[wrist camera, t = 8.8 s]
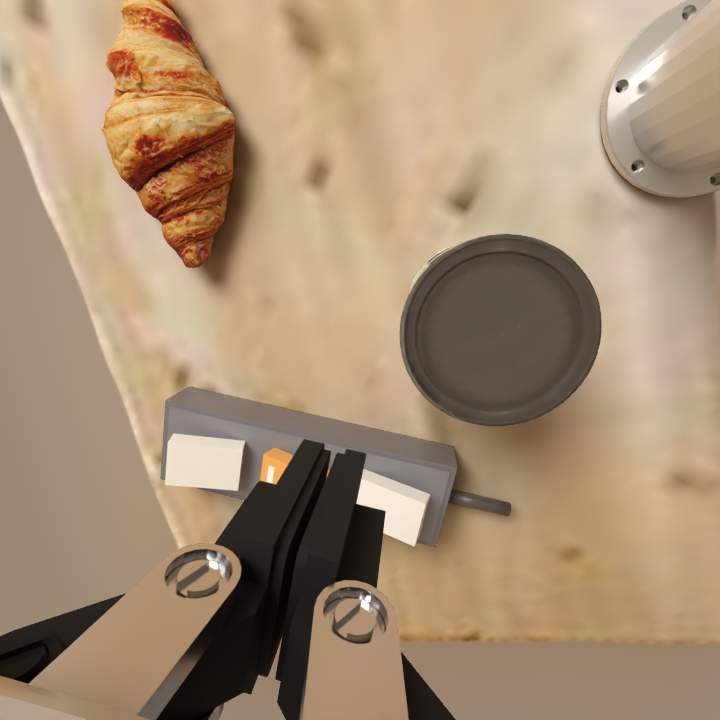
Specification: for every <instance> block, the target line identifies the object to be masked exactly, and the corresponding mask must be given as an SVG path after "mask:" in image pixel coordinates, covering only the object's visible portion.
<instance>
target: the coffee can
mask: <svg viewBox="0 0 720 720" xmlns="http://www.w3.org/2000/svg"><path fill="white" fill-rule="evenodd" d="M600 338H601V312H600V306H599V301H598V298H597V295H596V293H595V290H594V288H593V286H592V284H591V282H590V280H589V279H588V278H587V276H586V274H585V273H584V272H583V270H582V269H581V268H580V267H579V266H578V265H577V264H576V262H575V261H574V260H573V259H571V258H570V257H569V256H568V255H567V254H565V253H564V252H563V251H561V250H560V249H558V248H556V247H555V246H552V245H550V244H548V243H546V242H544V241H542V240H539V239H535V238H531V237H527V236H521V235H512V234H500V235H489V236H484V237H479V238H476V239H473V240H469V241H467V242H464V243H460V244H455V245H452V246H450V247H447V248H445V249H443V250H441V251H439V252H438V253H436V254H435V255H433V256H432V257H431V258H430V259H428V260H427V261H426V262H425V263H424V264H423V265H422V267H421V268H420V269H419V271H418V273H417V274H416V276H415V278H414V280H413V282H412V285H411V288H410V291H409V295H408V298H407V300H406V303H405V306H404V309H403V312H402V317H401V323H400V347H401V352H402V357H403V361H404V364H405V367H406V369H407V372H408V374H409V376H410V378H411V379H412V381H413V383H414V384H415V386H416V387H417V388H418V390H419V391H420V392H421V394H422V395H423V396H424V397H425V398H426V399H427V400H428V401H429V402H430V403H431V404H433V405H434V406H435V407H436V408H438V409H439V410H441V411H443V412H444V413H446V414H448V415H450V416H452V417H454V418H456V419H459V420H462V421H465V422H468V423H472V424H478V425H485V426H505V425H513V424H518V423H523V422H527V421H529V420H532V419H536V418H538V417H540V416H542V415H544V414H546V413H548V412H550V411H552V410H553V409H555V408H556V407H558V406H559V405H560V404H561V403H563V402H564V401H565V400H566V399H567V398H569V397H570V396H571V395H572V394H573V393H574V392H575V391H576V390H577V388H578V387H579V386H580V385H581V384H582V382H583V381H584V379H585V378H586V376H587V375H588V373H589V372H590V370H591V368H592V366H593V364H594V361H595V359H596V356H597V353H598V348H599V345H600Z"/></svg>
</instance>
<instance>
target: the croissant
mask: <svg viewBox="0 0 720 720" xmlns="http://www.w3.org/2000/svg"><path fill="white" fill-rule="evenodd" d="M121 12H122V15H123V19H124V28H123V30H122V31H121V32H120V33H119V35H118V38H117V40H116V43H115V44H114V46H113V47H112V48H111V51H110V53H108V54H107V59H108V62H106V65H107V67H108V69H109V70H110V71H111V72H112V73H113V75H114V77H115V79H116V82H117V84H116V85H115V87H114V92H115V95H114V99H113V101H112V103H111V105H110V107H109V109H108V110H107V112H106V115H105V123H104V127H103V128H102V129H101V130H102V131H103V133H104V135H105V137H106V142H107V146H108V149H109V152H110V154H111V157H112V160H113V164H114V165H115V167H116V169H117V171H118V173H119V175H120V176H121V178H122V179H123V180H124V181H125V182H126V183H127V184H129V186H130V187H131V188H132V189H134V190H135V191H136V193H137V195H138V197H139V198H140V200H141V203H142V205H143V207H144V209H145V211H146V212H148V213H149V214H150V215H152V216H153V217H154V218H156V219H158V220H159V221H160V222H161V224H162V225H163V226H162V232H163V235H164V238H165V240H166V241H167V243H168V244H169V245H170V246H171V247H172V248H173V249H174V250H175V251H176V252H177V254H178V255H179V257H180V258H182V260H183V262H184V264H185V265H186V267H189V268H191V267H192V268H194V267H199V266H201V264H204V263H205V262H206V261H207V260H208V257H209V256H210V255H211V245H212V242H213V235H214V233H216V232H217V230H218V229H219V227H220V226H221V224H222V223H223V221H224V216H225V212H226V205H227V195H228V193H229V189H230V182H231V179H232V177H233V147H234V139H235V134H234V130H235V116H234V114H233V113H232V112H231V111H230V110H229V109H228V108H227V103H226V101H225V100H224V96H223V92H222V90H221V87H220V85H219V82H218V81H217V80H216V79H214V78H212V77H211V76H210V75H209V73H208V72H207V70H206V69H205V68H204V67H203V62H202V59H201V58H200V56H199V54H198V53H197V49H196V45H195V43H194V41H193V39H192V38H191V36H190V34H189V33H188V32H187V31H186V29H185V28H184V26H183V25H182V24H181V22H180V20H179V17H178V13H177V11H176V9H175V7H174V6H173V4H172V3H171V1H170V0H127V1H126V3H125V4H124V5H123V8H122V10H121Z"/></svg>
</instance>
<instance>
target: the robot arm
mask: <svg viewBox="0 0 720 720" xmlns="http://www.w3.org/2000/svg"><path fill="white" fill-rule="evenodd" d="M682 16H683V17H684V19H683V17H682ZM616 87H617V88H619V93H618V92H616V90H615V88H616ZM600 120H601V134H602V139H603V143H604V147H605V150H606V152H607V154H608V156H609V159H610V161H611V163H612V164H613V165H614V167H615V168H616V169H617V171H618V172H619V173H620V175H622V176H623V177H624V178H625V179H626V180H627V181H629V182H630V183H631V184H632V185H634V186H636V187H638V188H639V189H641V190H643V191H645V192H648V193H651V194H655V195H658V196H662V197H675V198H682V197H691V196H698V195H702V194H707V193H711V192H715V191H717V190H720V0H687V1H684V2H681V3H680V4H678V5H676V6H674V7H673V8H671V9H669V10H668V11H666V12H664V13H663V14H661V15H660V16H659V17H658V18H656V19H655V20H654V21H653V22H652V23H650V24H649V25H648V26H647V27H645V28H644V30H643V31H642V32H641V33H640V34H639V35H638V36H637V37H636V38H635V39H634V40H633V41H632V42H631V43H630V45H629V46H628V47H627V48H626V50H625V51H624V52H623V54H622V55H621V56H620V58H619V60H618V61H617V63H616V65H615V67H614V69H613V71H612V73H611V74H610V77H609V79H608V82H607V85H606V88H605V91H604V94H603V100H602V106H601V112H600ZM632 165H634V166H635V170H634V171H632V169H631V166H632ZM710 178H711V179H712V182H710ZM324 447H325V444H324V443H320V442H315V441H311V440H307V439H304V440H303V441H302V443H301V444H300V446H299V447H298V449H297V451H296V452H295V454H294V456H293V457H292V459H291V461H290V462H289V464H288V466H287V467H286V469H285V470H284V472H283V474H282V475H281V477H280V479H279V480H278V482H277V484H273V483H268V482H264V481H259V482H258V483H257V484H256V485H255V487H254V488H253V489H252V491H251V492H250V494H249V495H248V497H247V498H246V499H245V501H244V502H243V504H242V505H241V507H240V508H239V510H238V511H237V512H236V514H235V515H234V517H233V518H232V520H231V521H230V522H229V524H228V525H227V527H226V528H225V530H224V531H223V533H222V534H221V535H220V537H219V538H218V540H217V541H216V543H215V544H206V543H199V544H194V545H189V546H185V547H183V548H181V549H178V550H176V551H174V552H173V553H171V554H170V555H169V556H167V557H166V558H164V559H163V560H162V561H161V562H160V563H159V564H158V565H157V566H156V567H155V568H154V569H153V570H151V571H150V572H149V573H148V574H147V575H146V576H145V577H144V578H143V579H142V580H141V581H140V582H139V583H138V584H136V585H135V586H134V587H133V588H132V589H131V590H130V591H129V592H128V593H126V594H123V595H120V596H117V597H114V598H111V599H108V600H105V601H101V602H98V603H96V604H92V605H89V606H86V607H84V608H80V609H77V610H74V611H71V612H68V613H65V614H62V615H59V616H56V617H53V618H50V619H47V620H44V621H41V622H38V623H35V624H32V625H29V626H26V627H23V628H20V629H17V630H14V631H12V632H9V633H7V634H5V635H2V636H0V720H219V718H220V716H221V713H222V711H223V708H224V703H225V702H227V701H229V700H231V699H232V698H234V697H236V696H238V695H240V694H242V693H243V692H244V693H248V694H251V693H252V690H253V688H254V685H255V682H256V680H257V677H258V675H261V676H265V677H267V676H268V675H269V672H270V669H271V667H272V664H273V661H274V658H275V655H276V653H277V650H278V647H279V644H280V641H281V638H282V642H281V648H280V654H279V661H278V666H277V672H276V680H279V681H281V683H280V689H279V695H278V701H277V703H278V705H279V707H280V709H281V711H282V713H283V715H284V717H285V719H286V720H455V718H454V717H453V716H452V715H451V713H450V712H449V711H448V710H447V708H446V707H445V706H444V705H443V703H442V702H441V701H440V700H439V698H438V697H437V696H436V695H435V693H434V692H433V691H432V690H431V689H430V687H429V686H428V685H427V683H426V682H425V681H424V680H423V678H422V677H421V676H420V675H419V673H418V672H417V671H416V670H415V669H414V667H413V666H412V665H411V663H410V662H409V661H408V660H407V659H406V657H405V656H404V655H403V654H402V652H401V649H400V640H399V632H398V623H397V617H396V614H395V610H394V607H393V606H392V604H391V603H390V601H389V599H388V598H387V597H386V596H385V595H384V594H383V593H382V592H381V591H379V590H378V589H377V580H378V571H379V563H380V555H381V547H382V538H383V530H384V522H385V513H386V512H385V511H384V510H380V509H376V508H372V507H368V506H363V505H359V504H356V503H357V498H358V493H359V488H360V484H361V479H362V474H363V469H364V464H365V460H366V454H367V453H363V452H358V451H354V450H350V449H346V451H345V454H342V453H338V452H337V454H336V456H335V459H334V461H333V464H332V466H331V469H330V471H329V474H328V476H327V473H328V467H329V462H330V456H331V451H330V450H325V449H324ZM326 478H327V479H326ZM282 636H283V637H282Z"/></svg>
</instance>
